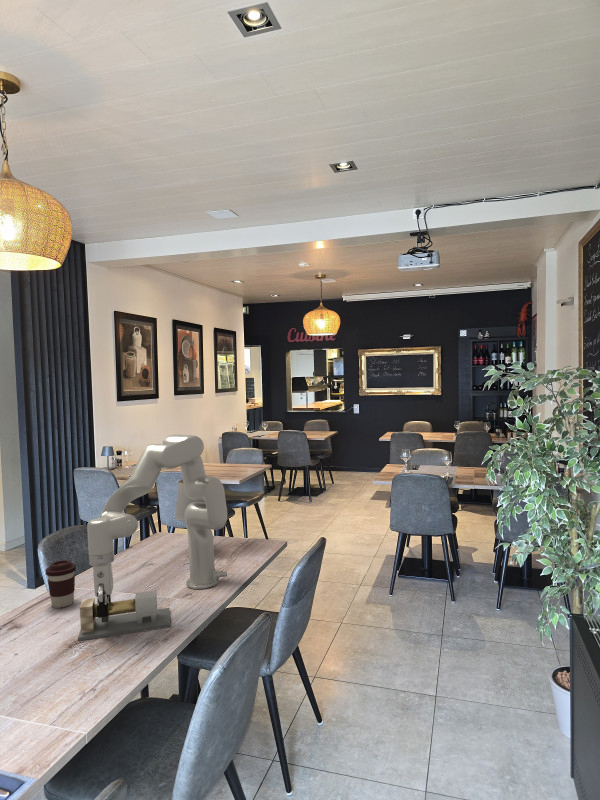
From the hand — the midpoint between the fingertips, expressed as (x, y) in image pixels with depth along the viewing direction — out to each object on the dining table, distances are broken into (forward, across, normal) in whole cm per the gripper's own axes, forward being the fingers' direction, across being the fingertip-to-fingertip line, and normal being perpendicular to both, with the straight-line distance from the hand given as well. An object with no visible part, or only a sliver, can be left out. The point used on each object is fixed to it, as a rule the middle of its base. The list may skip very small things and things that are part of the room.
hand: (104, 610), depth 172 cm
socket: (+6, 0, +5) cm, 8 cm away
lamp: (+6, +64, -34) cm, 73 cm away
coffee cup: (+6, +26, +17) cm, 32 cm away
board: (+6, 0, -6) cm, 9 cm away
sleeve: (+6, 0, -13) cm, 14 cm away
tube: (+3, 0, -3) cm, 4 cm away
